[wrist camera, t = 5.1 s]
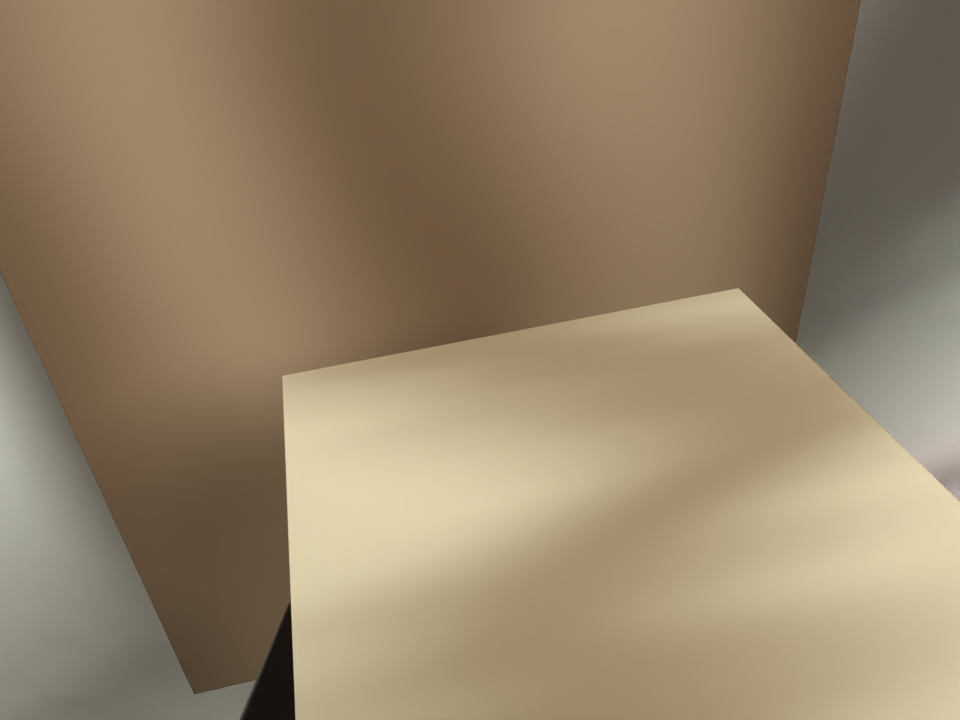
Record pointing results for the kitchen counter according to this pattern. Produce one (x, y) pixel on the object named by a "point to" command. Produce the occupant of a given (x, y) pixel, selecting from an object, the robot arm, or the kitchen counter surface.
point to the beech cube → (613, 532)
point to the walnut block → (369, 221)
